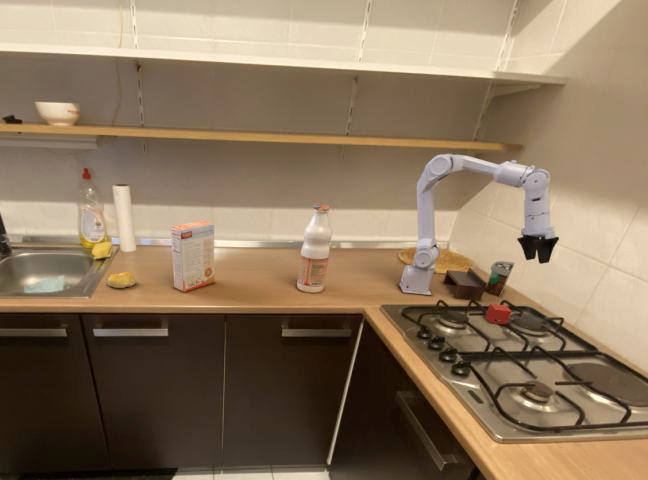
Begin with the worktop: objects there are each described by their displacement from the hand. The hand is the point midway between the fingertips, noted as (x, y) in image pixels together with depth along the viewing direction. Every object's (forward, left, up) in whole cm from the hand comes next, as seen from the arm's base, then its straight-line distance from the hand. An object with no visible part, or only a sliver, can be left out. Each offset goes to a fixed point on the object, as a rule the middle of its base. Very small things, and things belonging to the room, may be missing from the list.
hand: (537, 261), depth 114 cm
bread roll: (-129, -10, -18) cm, 130 cm away
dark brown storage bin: (-11, +18, -18) cm, 27 cm away
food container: (+1, +22, -18) cm, 28 cm away
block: (-8, -6, -18) cm, 20 cm away
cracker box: (-105, -4, -18) cm, 106 cm away
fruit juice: (-65, +5, -18) cm, 67 cm away
